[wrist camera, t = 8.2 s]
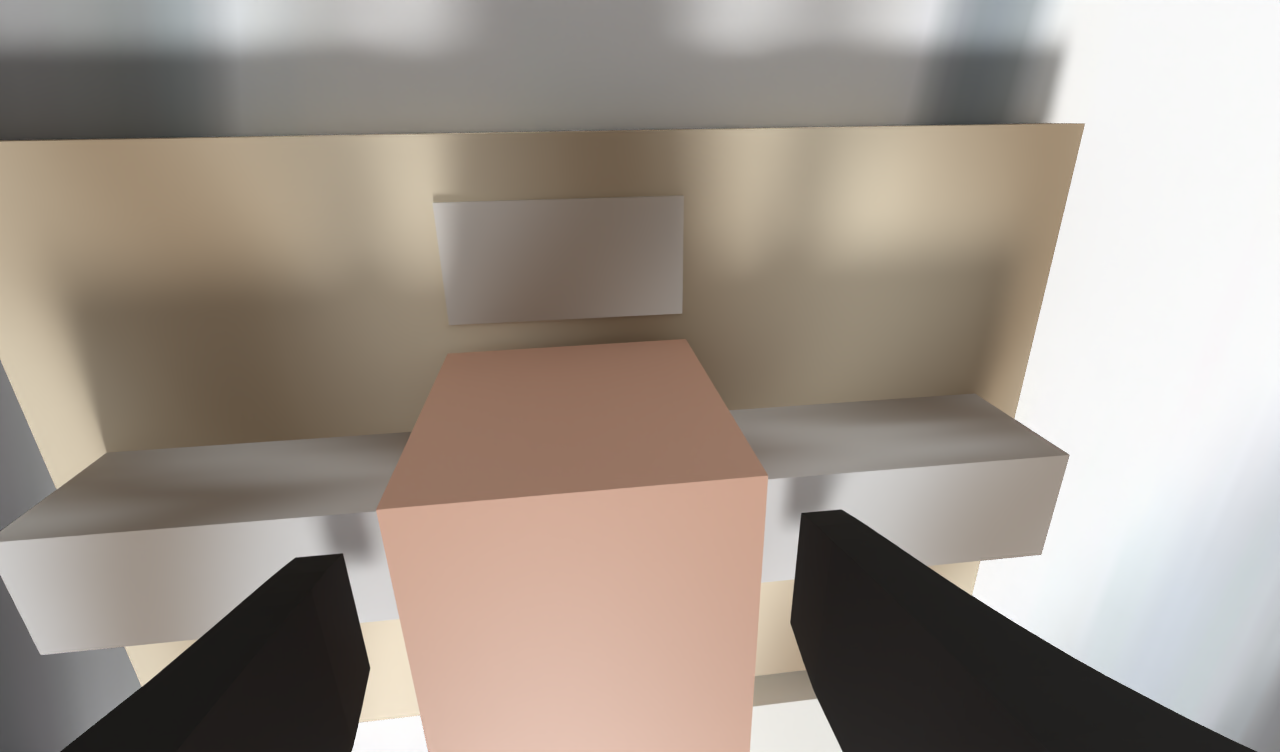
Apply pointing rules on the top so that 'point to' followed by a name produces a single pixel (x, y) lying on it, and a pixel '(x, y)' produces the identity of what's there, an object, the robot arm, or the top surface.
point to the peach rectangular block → (578, 553)
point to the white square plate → (789, 716)
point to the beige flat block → (503, 342)
